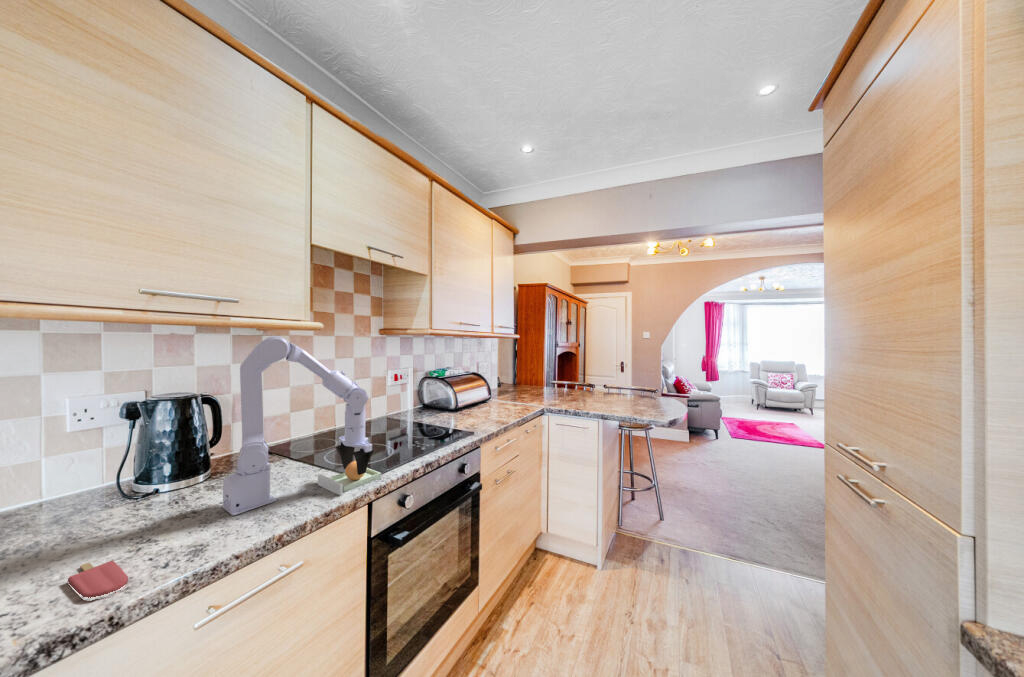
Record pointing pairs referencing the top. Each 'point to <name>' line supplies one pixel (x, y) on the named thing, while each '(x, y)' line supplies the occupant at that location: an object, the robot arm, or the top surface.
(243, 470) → the robot arm
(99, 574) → the popsicle
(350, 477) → the ball
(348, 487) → the tray
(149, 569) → the top surface
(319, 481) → the acrylic wall
